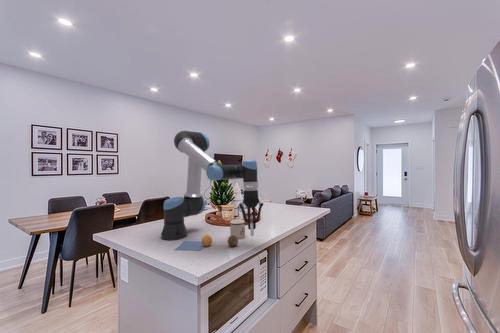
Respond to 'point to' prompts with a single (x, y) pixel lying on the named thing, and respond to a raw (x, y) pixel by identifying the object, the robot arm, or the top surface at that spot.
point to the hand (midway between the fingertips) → (252, 235)
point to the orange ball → (206, 240)
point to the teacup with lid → (237, 228)
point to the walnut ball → (232, 240)
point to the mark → (191, 245)
